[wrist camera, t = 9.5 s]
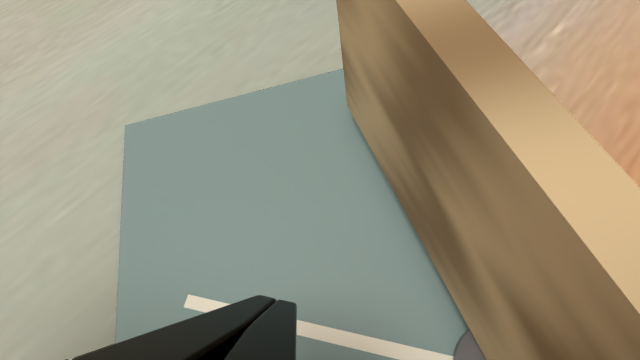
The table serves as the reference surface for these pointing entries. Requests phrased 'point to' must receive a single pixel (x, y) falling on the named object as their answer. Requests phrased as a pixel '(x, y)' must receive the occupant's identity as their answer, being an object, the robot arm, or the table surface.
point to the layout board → (279, 228)
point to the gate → (496, 182)
